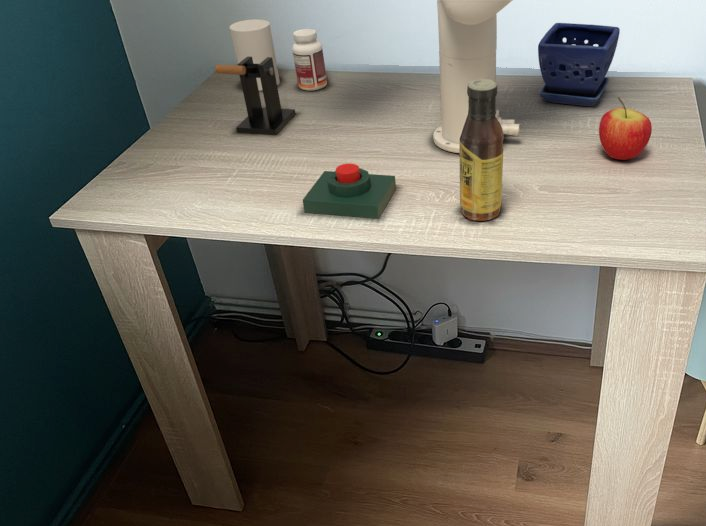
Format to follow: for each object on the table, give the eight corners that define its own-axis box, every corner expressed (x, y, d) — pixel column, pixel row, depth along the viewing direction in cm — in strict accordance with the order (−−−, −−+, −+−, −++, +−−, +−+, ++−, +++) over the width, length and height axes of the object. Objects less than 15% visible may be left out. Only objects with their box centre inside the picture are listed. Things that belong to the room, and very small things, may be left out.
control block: (396, 188, 117) (394, 165, 115) (378, 218, 110) (376, 195, 107) (326, 182, 120) (322, 160, 117) (304, 212, 112) (300, 189, 110)
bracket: (276, 135, 136) (264, 71, 128) (236, 132, 137) (222, 69, 130) (295, 114, 143) (285, 52, 135) (258, 112, 145) (246, 51, 137)
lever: (242, 77, 124) (241, 62, 123) (215, 76, 125) (214, 61, 124) (272, 78, 135) (272, 64, 134) (248, 77, 136) (247, 63, 135)
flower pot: (601, 112, 138) (608, 47, 130) (533, 105, 142) (536, 42, 134) (614, 87, 147) (621, 25, 139) (550, 81, 151) (553, 21, 143)
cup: (283, 76, 160) (274, 19, 152) (274, 90, 153) (263, 31, 146) (248, 77, 160) (236, 19, 153) (236, 90, 154) (224, 31, 147)
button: (363, 174, 114) (362, 164, 112) (356, 185, 111) (354, 174, 110) (341, 173, 114) (340, 162, 113) (333, 183, 112) (332, 172, 110)
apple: (600, 143, 127) (607, 86, 121) (650, 148, 125) (659, 91, 118) (592, 163, 121) (598, 105, 115) (643, 169, 119) (653, 110, 113)
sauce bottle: (458, 204, 112) (455, 75, 100) (498, 201, 113) (500, 72, 100) (462, 226, 107) (460, 92, 95) (504, 223, 108) (508, 89, 95)
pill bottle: (322, 79, 158) (314, 25, 151) (331, 87, 153) (324, 33, 146) (294, 84, 156) (285, 30, 149) (303, 93, 151) (294, 38, 144)
